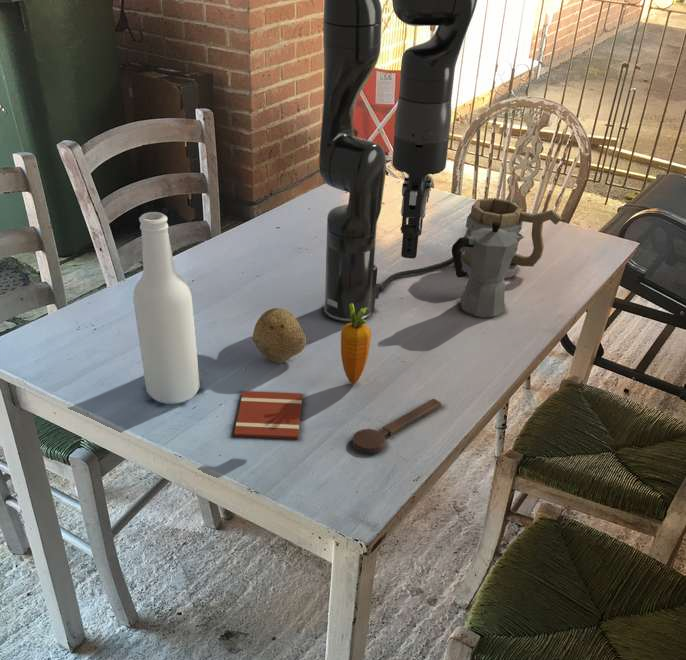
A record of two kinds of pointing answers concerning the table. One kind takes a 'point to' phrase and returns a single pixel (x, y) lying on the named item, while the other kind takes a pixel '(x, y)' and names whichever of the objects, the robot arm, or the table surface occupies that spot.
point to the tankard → (507, 228)
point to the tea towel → (269, 415)
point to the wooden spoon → (390, 429)
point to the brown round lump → (278, 335)
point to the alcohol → (164, 318)
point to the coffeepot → (486, 269)
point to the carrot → (355, 345)
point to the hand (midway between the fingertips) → (411, 245)
